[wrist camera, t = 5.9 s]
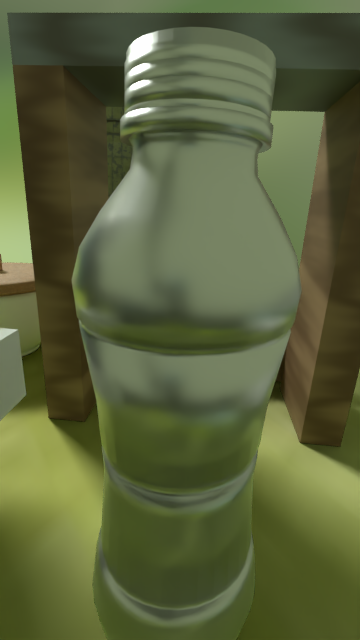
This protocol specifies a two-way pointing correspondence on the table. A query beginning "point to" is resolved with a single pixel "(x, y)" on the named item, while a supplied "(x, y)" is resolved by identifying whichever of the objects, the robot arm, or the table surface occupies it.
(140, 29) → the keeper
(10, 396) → the robot arm
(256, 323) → the plastic bottle
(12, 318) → the lidded bowl
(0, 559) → the table surface
